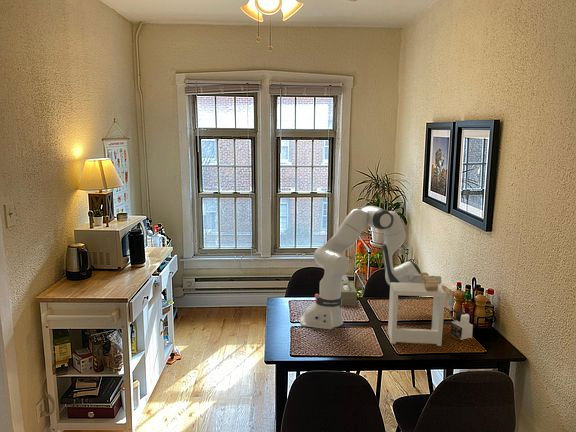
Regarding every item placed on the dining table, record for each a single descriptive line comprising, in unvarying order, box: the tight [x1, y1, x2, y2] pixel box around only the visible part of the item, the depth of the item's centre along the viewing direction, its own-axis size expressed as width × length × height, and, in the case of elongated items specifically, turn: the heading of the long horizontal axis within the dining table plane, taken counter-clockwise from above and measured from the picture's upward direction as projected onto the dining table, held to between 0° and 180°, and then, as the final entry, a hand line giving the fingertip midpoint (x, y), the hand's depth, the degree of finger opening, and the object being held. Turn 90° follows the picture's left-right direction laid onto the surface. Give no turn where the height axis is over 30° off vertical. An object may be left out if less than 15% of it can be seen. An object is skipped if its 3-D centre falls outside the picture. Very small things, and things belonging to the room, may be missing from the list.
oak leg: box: [421, 271, 438, 291], centre depth 217 cm, size 19×5×4 cm, turn 175°
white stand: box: [387, 282, 445, 347], centre depth 215 cm, size 23×12×26 cm, turn 85°
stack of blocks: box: [432, 283, 464, 312], centre depth 261 cm, size 21×6×12 cm, turn 11°
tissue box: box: [341, 273, 358, 306], centre depth 268 cm, size 19×10×16 cm, turn 179°
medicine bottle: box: [450, 311, 474, 341], centre depth 219 cm, size 7×7×12 cm
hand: (423, 276), depth 227 cm, fingers open, 8 cm apart
